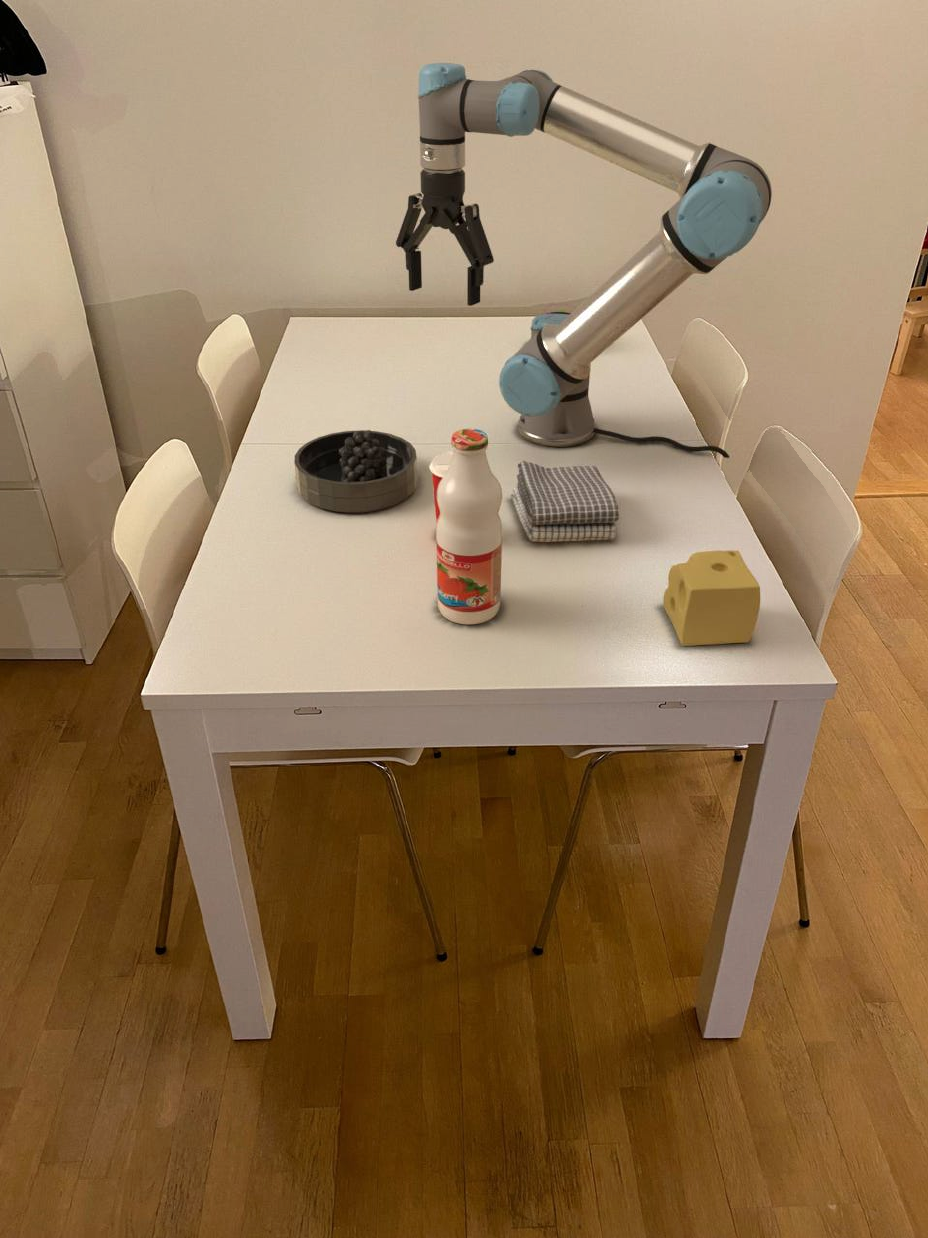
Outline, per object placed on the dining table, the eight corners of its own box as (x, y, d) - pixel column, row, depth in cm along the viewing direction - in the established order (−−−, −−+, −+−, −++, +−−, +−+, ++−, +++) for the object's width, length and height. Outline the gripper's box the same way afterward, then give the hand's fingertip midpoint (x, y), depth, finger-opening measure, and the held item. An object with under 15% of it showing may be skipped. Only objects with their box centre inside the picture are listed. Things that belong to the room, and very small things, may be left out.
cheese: (661, 607, 149) (669, 550, 143) (731, 604, 150) (742, 547, 144) (679, 649, 140) (688, 590, 135) (754, 645, 141) (766, 586, 135)
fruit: (361, 457, 168) (378, 418, 180) (317, 468, 171) (337, 429, 183) (379, 500, 173) (395, 460, 185) (336, 510, 175) (355, 470, 187)
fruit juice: (513, 608, 149) (519, 436, 132) (467, 634, 143) (468, 457, 127) (470, 583, 154) (470, 415, 138) (424, 607, 149) (419, 434, 133)
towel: (529, 550, 162) (531, 507, 158) (509, 497, 177) (510, 457, 173) (619, 543, 164) (624, 501, 160) (592, 491, 179) (596, 451, 174)
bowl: (441, 481, 182) (440, 451, 179) (360, 527, 168) (357, 496, 165) (355, 449, 193) (353, 420, 190) (272, 490, 179) (269, 460, 176)
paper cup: (483, 529, 168) (484, 453, 160) (468, 551, 162) (469, 474, 154) (440, 521, 170) (438, 446, 162) (424, 543, 164) (421, 466, 156)
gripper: (372, 162, 171) (378, 287, 183) (488, 182, 158) (486, 315, 170) (401, 156, 175) (405, 278, 188) (516, 175, 163) (512, 304, 175)
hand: (444, 296), depth 179 cm, fingers open, 13 cm apart
